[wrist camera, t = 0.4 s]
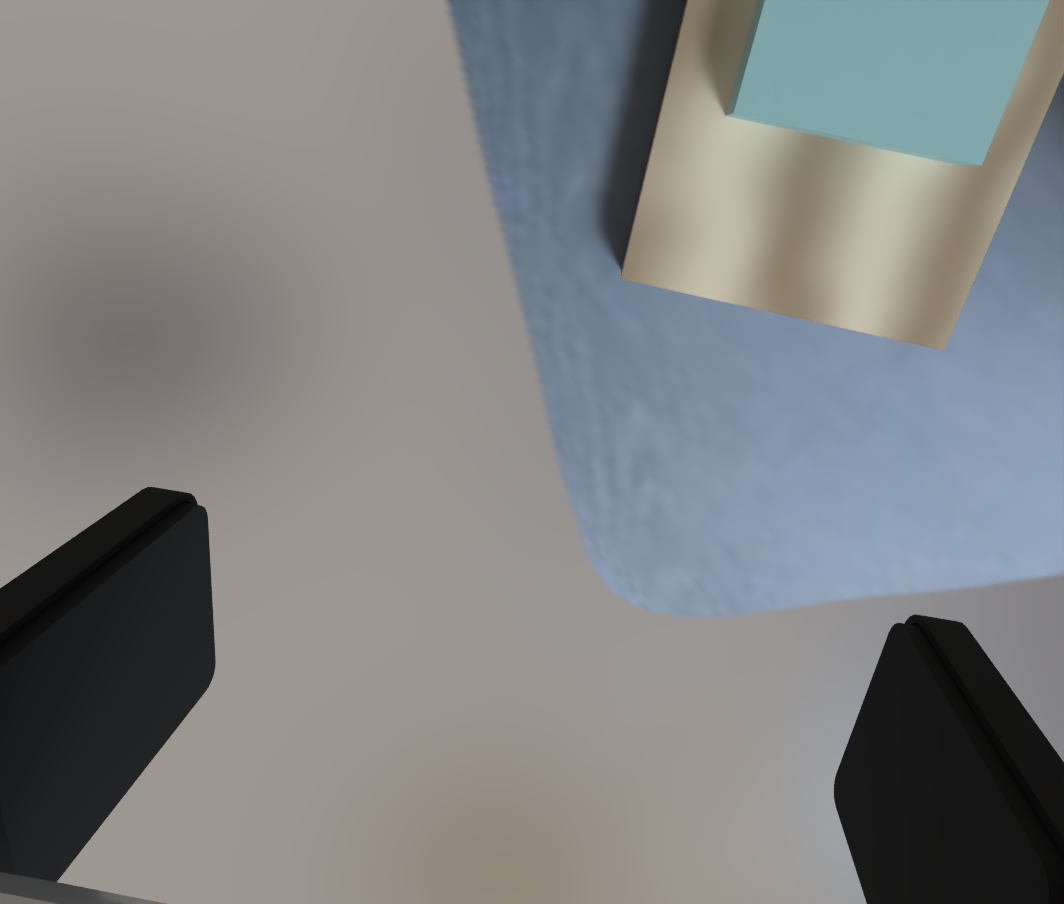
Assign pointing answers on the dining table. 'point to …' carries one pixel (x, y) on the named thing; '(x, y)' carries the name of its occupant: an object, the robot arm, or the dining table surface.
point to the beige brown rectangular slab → (820, 198)
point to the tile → (887, 71)
